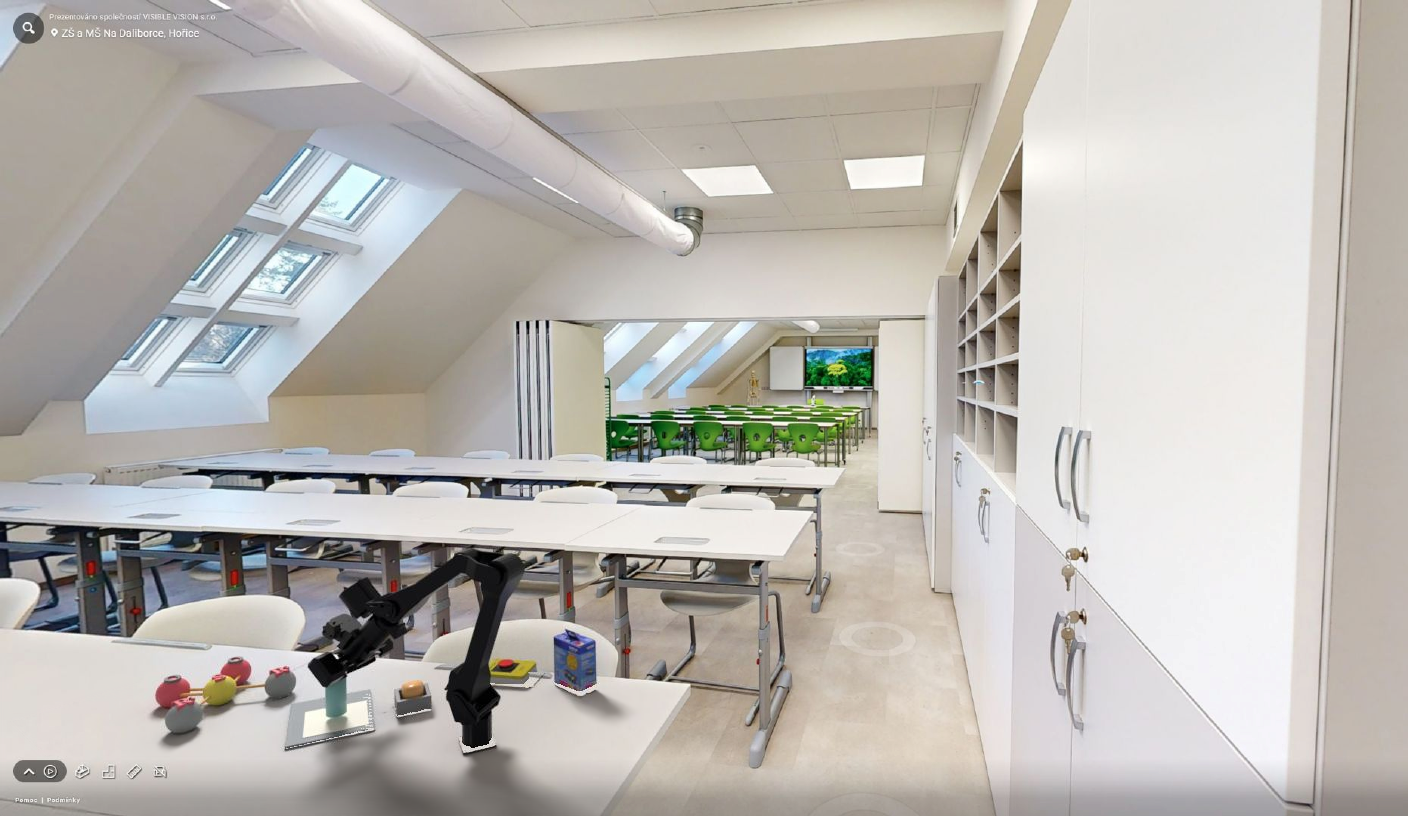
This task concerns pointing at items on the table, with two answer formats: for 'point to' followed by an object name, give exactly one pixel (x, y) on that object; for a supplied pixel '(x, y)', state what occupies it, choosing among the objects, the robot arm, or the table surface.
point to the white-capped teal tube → (336, 699)
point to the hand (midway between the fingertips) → (330, 679)
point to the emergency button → (511, 671)
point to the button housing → (412, 701)
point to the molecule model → (215, 692)
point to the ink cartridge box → (574, 661)
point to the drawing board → (327, 720)
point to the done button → (412, 689)
